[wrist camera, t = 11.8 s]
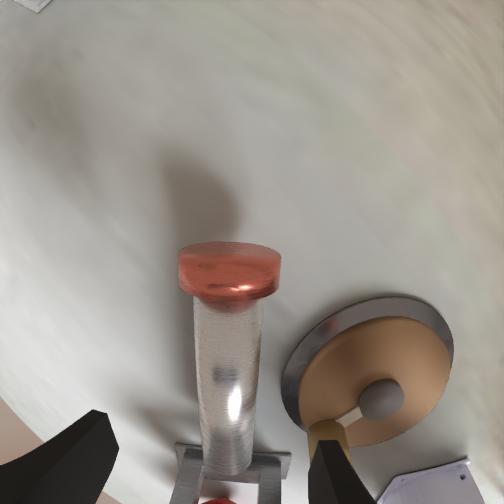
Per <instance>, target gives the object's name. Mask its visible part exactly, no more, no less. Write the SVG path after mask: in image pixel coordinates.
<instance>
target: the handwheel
mask: <svg viewBox="0 0 504 504" xmlns="http://www.w3.org/2000/svg"><path fill="white" fill-rule="evenodd" d="M449 374H450V357H449V354H448V350H447V349H446V347H445V345H444V343H443V342H442V341H441V340H440V338H439V337H438V336H437V335H436V334H435V333H434V331H433V330H432V329H431V328H429V327H428V326H427V325H426V324H424V323H422V322H420V321H419V320H416V319H413V318H409V317H404V316H384V317H378V318H373V319H369V320H366V321H363V322H360V323H358V324H355V325H353V326H351V327H349V328H347V329H345V330H343V331H342V332H340V333H338V334H337V335H335V336H334V337H333V338H331V339H330V340H329V341H327V342H326V343H325V344H324V345H323V346H322V347H321V348H320V349H319V350H318V351H317V352H316V353H315V354H314V355H313V357H312V358H311V359H310V361H309V362H308V364H307V365H306V367H305V369H304V371H303V373H302V376H301V378H300V382H299V387H298V401H299V410H300V416H301V419H302V422H303V423H304V425H305V427H306V428H307V429H308V432H307V435H308V445H309V456H310V466H311V463H312V460H313V457H314V453H315V450H316V447H317V444H318V440H338V441H339V443H340V445H341V447H342V449H343V451H344V453H345V454H346V456H347V458H348V460H349V462H350V463H351V465H352V461H351V456H350V452H349V447H359V446H367V445H373V444H377V443H380V442H383V441H386V440H389V439H391V438H394V437H396V436H398V435H400V434H402V433H404V432H405V431H407V430H408V429H410V428H412V427H413V426H414V425H416V424H417V423H418V422H420V421H421V420H422V419H423V418H424V417H425V416H426V415H427V414H428V413H429V412H430V411H431V410H432V409H433V407H434V406H435V405H436V403H437V402H438V400H439V399H440V397H441V396H442V394H443V392H444V390H445V388H446V385H447V382H448V379H449ZM352 467H353V466H352Z"/></svg>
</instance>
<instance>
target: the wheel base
mask: <svg viewBox="0 0 504 504" xmlns="http://www.w3.org/2000/svg"><path fill="white" fill-rule="evenodd" d="M384 316H404V317H409V318H413V319H416V320H419V321H420V322H422V323H424V324H426V325H427V326H428V327H429V328H431V329H432V330H433V331H434V333H435V334H436V335H437V336H438V337H439V338H440V340H441V341H442V342H443V343H444V345H445V347H446V349H447V350H448V354H449V357H450V370H451V366H452V362H453V354H454V345H453V338H452V334H451V331H450V329H449V327H448V325H447V323H446V322H445V320H444V319H443V318H442V317H441V316H440V315H439V314H438V313H437V312H436V311H435V310H434V309H433V308H431V307H430V306H428V305H427V304H425V303H422V302H420V301H418V300H414V299H410V298H405V297H380V298H375V299H369V300H366V301H362V302H359V303H356V304H354V305H351V306H349V307H346V308H344V309H342V310H340V311H338V312H336V313H335V314H333V315H331V316H330V317H328V318H327V319H325V320H324V321H322V322H321V323H320V324H318V325H317V326H316V327H315V328H314V329H312V330H311V331H310V332H309V333H308V334H307V335H306V336H305V337H304V338H303V340H302V341H301V342H300V343H299V345H298V346H297V347H296V349H295V350H294V351H293V353H292V355H291V357H290V359H289V360H288V363H287V365H286V368H285V370H284V375H283V379H282V398H283V403H284V406H285V409H286V411H287V413H288V415H289V416H290V418H291V419H292V420H293V422H294V423H295V424H296V425H297V426H299V427H300V428H301V429H302V430H304V431H305V432H308V429H307V428H306V427H305V425H304V423H303V422H302V419H301V416H300V410H299V401H298V387H299V382H300V378H301V376H302V373H303V371H304V369H305V367H306V365H307V364H308V362H309V361H310V359H311V358H312V357H313V355H314V354H315V353H316V352H317V351H318V350H319V349H320V348H321V347H322V346H323V345H324V344H325V343H326V342H327V341H329V340H330V339H331V338H333V337H334V336H335V335H337V334H338V333H340V332H342V331H343V330H345V329H347V328H349V327H351V326H353V325H355V324H358V323H360V322H363V321H366V320H369V319H373V318H378V317H384Z"/></svg>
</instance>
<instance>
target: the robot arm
mask: <svg viewBox="0 0 504 504" xmlns="http://www.w3.org/2000/svg"><path fill="white" fill-rule="evenodd" d="M118 451H119V446H118V444H117V441H116V438H115V435H114V433H113V430H112V427H111V424H110V421H109V418H108V415H107V413H104V412H100V411H97V410H94V409H92V410H91V411H90V412H88V413H87V414H85V415H84V416H83V417H81V418H80V419H79V420H77V421H76V422H74V423H73V424H72V425H70V426H69V427H68V428H66V429H65V430H63V431H62V432H60V433H59V434H58V435H56V436H55V437H53V438H52V439H50V440H49V441H47V442H46V443H44V444H43V445H41V446H39V447H37V448H36V449H34V450H33V451H31V452H29V453H27V454H25V455H24V456H22V457H19V458H17V459H15V460H13V461H11V462H8V463H6V464H3V465H0V504H95V503H96V501H97V499H98V497H99V495H100V493H101V491H102V489H103V487H104V485H105V483H106V481H107V479H108V477H109V475H110V473H111V471H112V469H113V466H114V463H115V460H116V457H117V454H118ZM469 462H470V460H469V459H464V460H461V461H458V462H455V463H451V464H447V465H444V466H440V467H436V468H432V469H428V470H424V471H419V472H415V473H410V474H405V475H400V476H396V477H395V478H394V479H393V480H392V482H391V483H390V485H389V486H388V487H387V489H386V490H385V492H384V493H383V495H382V496H381V497H380V499H379V500H378V501H377V503H376V501H375V500H374V499H373V497H372V496H371V495H370V493H369V492H368V490H367V489H366V487H365V486H364V484H363V483H362V481H361V480H360V478H359V477H358V475H357V474H356V472H355V470H354V469H353V467H352V465H351V463H350V462H349V460H348V458H347V456H346V454H345V453H344V451H343V449H342V447H341V445H340V443H339V441H338V440H318V444H317V447H316V450H315V453H314V457H313V460H312V463H311V466H310V469H309V472H308V499H309V504H485V503H484V500H483V498H482V496H481V494H480V491H479V489H478V487H477V485H476V483H475V481H474V479H473V477H472V475H471V473H470V471H469V469H468V467H467V465H468V464H469Z"/></svg>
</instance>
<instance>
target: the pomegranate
mask: <svg viewBox="0 0 504 504" xmlns="http://www.w3.org/2000/svg"><path fill="white" fill-rule="evenodd" d="M202 504H236V503H234V502H233V501H231V500H229V499H228V498H218V499H214V500H210V501H207V502H204V503H202Z"/></svg>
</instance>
